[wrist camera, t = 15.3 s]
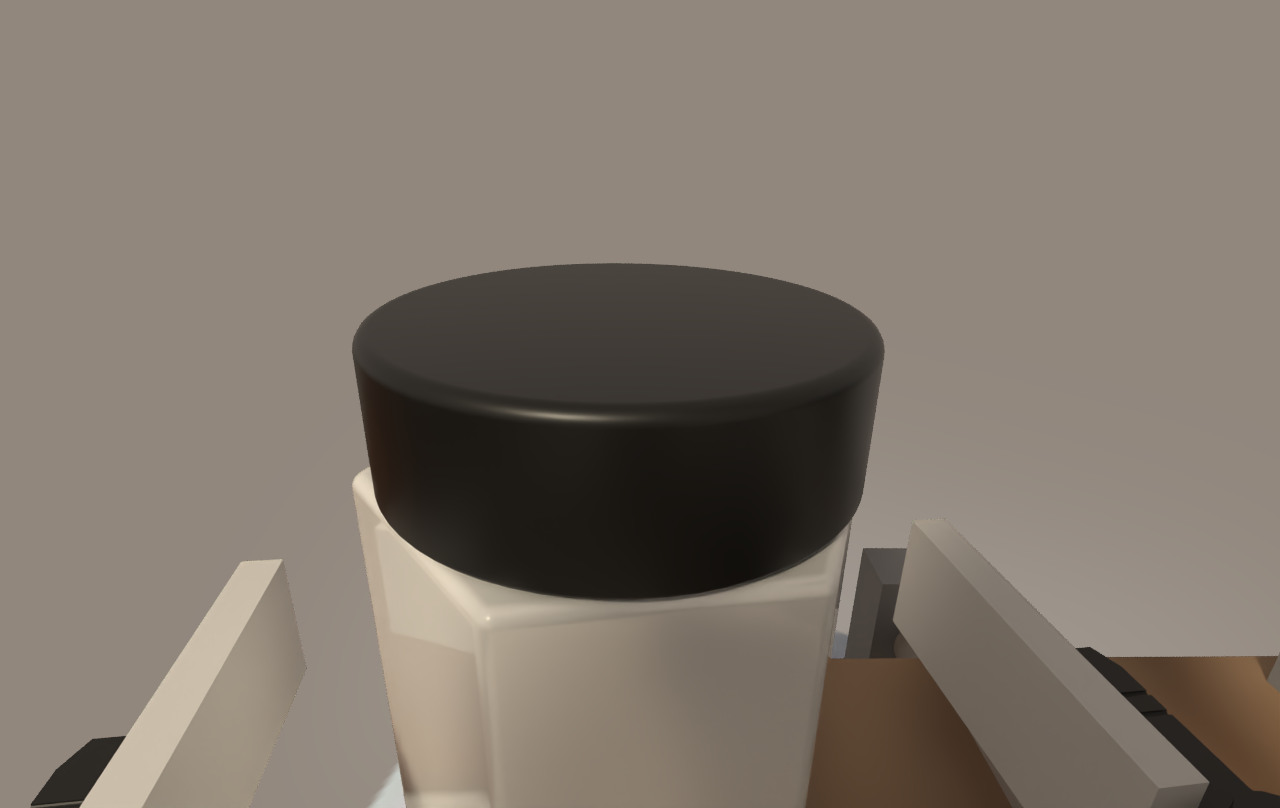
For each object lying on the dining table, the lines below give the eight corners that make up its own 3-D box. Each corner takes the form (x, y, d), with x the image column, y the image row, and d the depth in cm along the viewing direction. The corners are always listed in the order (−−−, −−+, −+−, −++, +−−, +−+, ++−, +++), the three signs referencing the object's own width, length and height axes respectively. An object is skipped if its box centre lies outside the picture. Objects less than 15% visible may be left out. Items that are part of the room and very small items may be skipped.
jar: (753, 671, 20) (793, 256, 16) (892, 997, 13) (1049, 388, 8) (435, 708, 19) (375, 265, 14) (383, 1099, 11) (220, 434, 7)
